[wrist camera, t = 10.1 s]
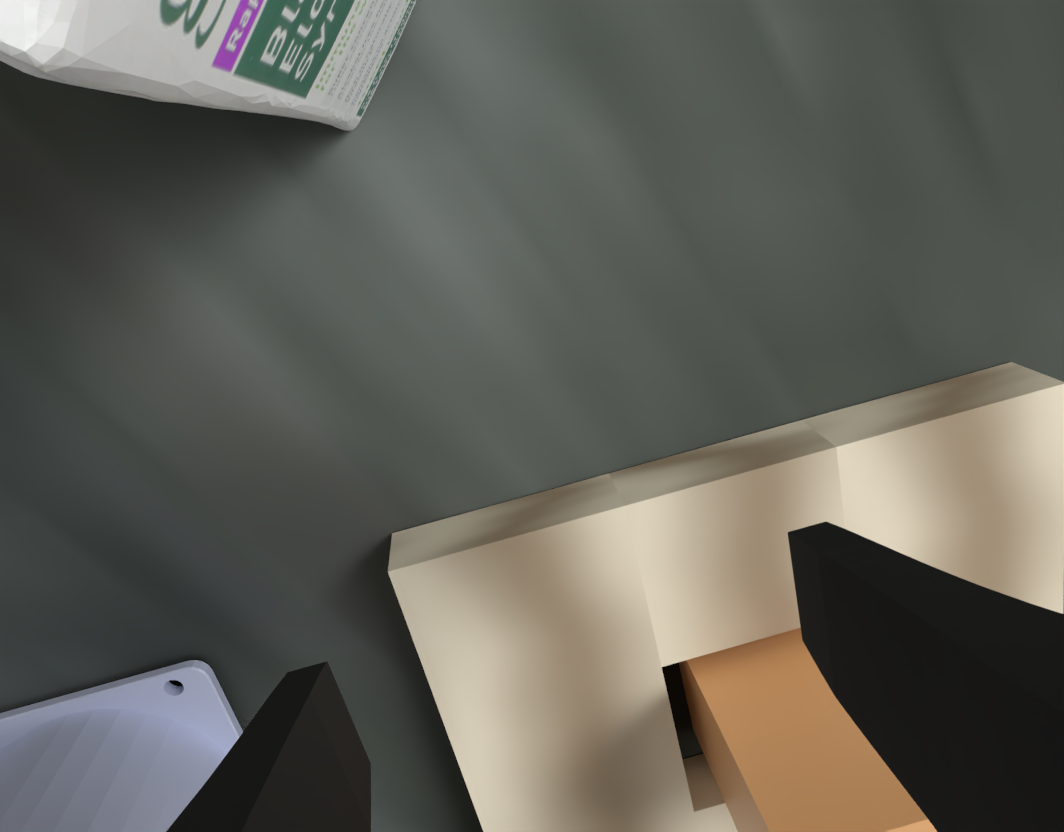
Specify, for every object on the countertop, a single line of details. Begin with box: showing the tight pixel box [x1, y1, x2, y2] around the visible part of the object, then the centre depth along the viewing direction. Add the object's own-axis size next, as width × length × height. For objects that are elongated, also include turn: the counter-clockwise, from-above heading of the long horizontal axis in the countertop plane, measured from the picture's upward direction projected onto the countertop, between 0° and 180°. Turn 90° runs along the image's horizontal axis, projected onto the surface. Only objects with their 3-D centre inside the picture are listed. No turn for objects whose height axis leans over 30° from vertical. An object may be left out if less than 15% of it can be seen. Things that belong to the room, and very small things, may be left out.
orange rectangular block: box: [679, 628, 937, 832], centre depth 20 cm, size 4×4×8 cm
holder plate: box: [388, 362, 1064, 832], centre depth 23 cm, size 18×16×2 cm
